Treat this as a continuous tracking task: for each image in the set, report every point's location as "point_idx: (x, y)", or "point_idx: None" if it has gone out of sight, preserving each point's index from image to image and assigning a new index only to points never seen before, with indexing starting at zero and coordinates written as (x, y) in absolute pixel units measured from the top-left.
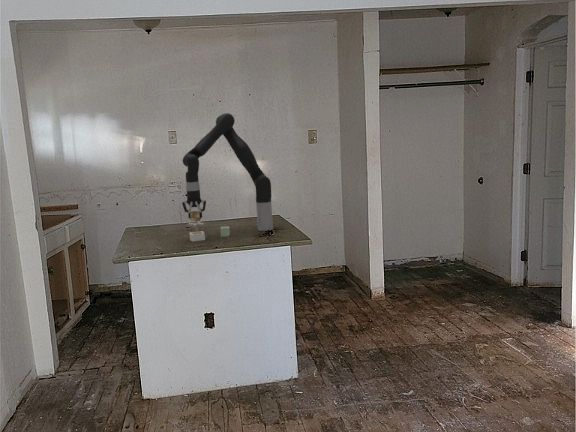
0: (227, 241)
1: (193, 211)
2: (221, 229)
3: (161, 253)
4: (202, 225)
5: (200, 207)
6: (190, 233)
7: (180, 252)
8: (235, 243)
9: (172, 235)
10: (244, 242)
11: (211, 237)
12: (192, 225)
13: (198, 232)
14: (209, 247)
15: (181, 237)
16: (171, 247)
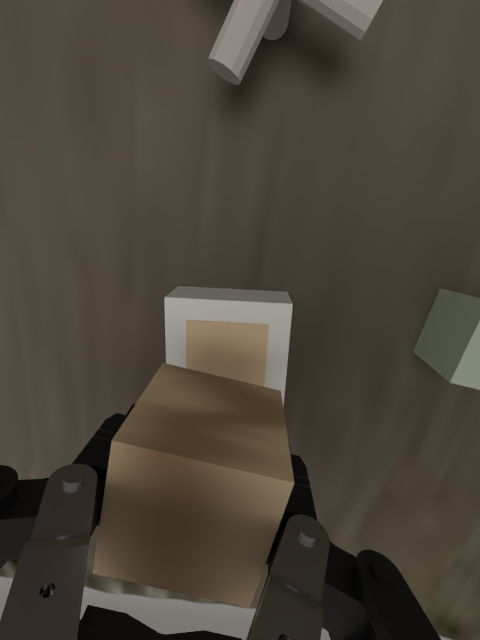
0: (398, 505)
1: (159, 474)
2: (453, 379)
3: (13, 561)
4: (343, 30)
5: (318, 614)
6: (171, 342)
7: (108, 589)
8: (420, 569)
9: (24, 29)
10: (474, 575)
11: (340, 334)
12: (210, 58)
13: (240, 356)
14: (263, 575)
15: (112, 189)
16: (54, 471)
